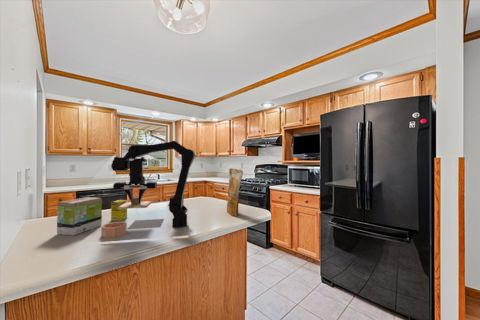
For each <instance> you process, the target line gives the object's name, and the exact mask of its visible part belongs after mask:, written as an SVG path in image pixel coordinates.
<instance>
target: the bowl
mask: <svg viewBox="0 0 480 320" xmlns="http://www.w3.org/2000/svg"><path fill="white" fill-rule="evenodd" d="M127 226H128V224H127V222H125V221H117V222H116V221H114V222H109V223H104V224H103V225H101V226H100V227H101V228H100V229H101V230H100V231H101V234H100V236H101V238H104V239H112V238H118V237H120V236H121V237H122V236H124V235H125V234H126V233H127V231H128V227H127Z"/></svg>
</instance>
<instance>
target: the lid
mask: <svg viewBox="0 0 480 320" xmlns="http://www.w3.org/2000/svg"><path fill="white" fill-rule="evenodd" d="M152 202H153V201H152V200H147V201H146V200H145V201H142V200H141V202H140V203H139V196H133V198H132V199H131V201H127V202H126V203H124V204H122V205H121V206H119V207H118V209H127V210H128V209H147V208H148V207H149V206H150V205H151V204H152Z"/></svg>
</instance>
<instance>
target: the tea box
mask: <svg viewBox="0 0 480 320" xmlns="http://www.w3.org/2000/svg"><path fill="white" fill-rule="evenodd" d="M102 206H103V198H102V197H90V196H86V197H81V198H75V199H70V200H64V201H59V202H57V213H56V215H57V217H56V234H57V235H65V236H76V235H78V234H81V233H83V232H84V233H85V232H87V231H89V230H90V231H91V230H92V229H95V228H100V227H102V222H103V221H102V218H103V216H102V215H103V214H102V212H103V211H102V209H103V207H102Z"/></svg>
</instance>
